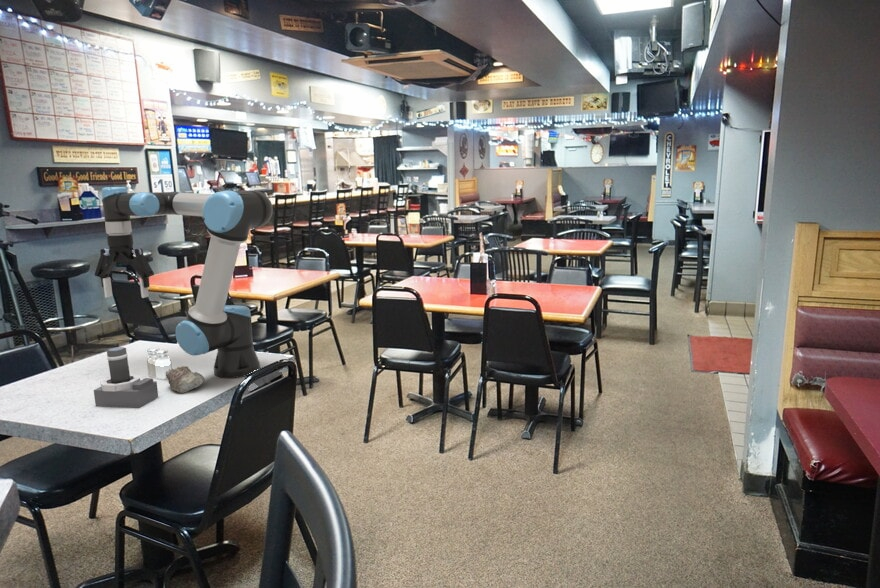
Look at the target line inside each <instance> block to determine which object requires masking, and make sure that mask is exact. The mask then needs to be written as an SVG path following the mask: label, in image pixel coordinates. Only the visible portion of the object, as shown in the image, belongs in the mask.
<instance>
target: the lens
mask: <svg viewBox="0 0 880 588" xmlns="http://www.w3.org/2000/svg"><path fill="white" fill-rule="evenodd" d="M106 355H107V356H106V358H107V359H106V360H107V362H108V367H109V368H108V369H109V374H110V375H109V377H111V383H112V384H118V383H124V382H128V381H130V368H129V361H128V357H129V356H128V353H127V348H126V347H124V346H120V347H119V346H118V347H112V348H109V349H108V350H106Z"/></svg>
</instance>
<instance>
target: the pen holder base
mask: <svg viewBox="0 0 880 588" xmlns="http://www.w3.org/2000/svg"><path fill="white" fill-rule="evenodd" d="M158 391H159V390H158V383H157V381H155V380H154V378H153V377H149V378H147V377H145V378H142V379H141V377H140V376H139V375H138V374H130V381H128V382H124V383H118V384H112V383H111V377H110V376H109V377H108V378H105V379H103V380H101V381H100V386H99V387H97V388H95V389H93V397H94V403H95V405H94V406H95V407H102V408H103V407H105V408H126V409H127V408H128V409H140V408H142V407H144V406H145V405H147V404H149V403H150V402H153V401H154V400H156V399H158V398H159V392H158Z"/></svg>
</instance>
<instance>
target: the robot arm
mask: <svg viewBox="0 0 880 588" xmlns="http://www.w3.org/2000/svg"><path fill="white" fill-rule="evenodd" d="M101 203H102V208H103V218H104V223H105V224H104V225H105V233H106V234H107V236H106V240H107V241H106V242H107V246H108V247H109V248H101V249H100V250H99V251H100V256H99V259H98V262H97V266H96V269H95V270H94V271H95V272H94V276H95V277H99V278H100V282H101V287H102V288H103V291H104V298H105V299H106V298H108V299H109V298H111V297H113V287H112V282H111V280H112V279H111V277H110V276H109V275H110V274H111V273H112V271H113V269H114V268H115V266H116V264H118V263H127V264H129V265H130V266H131V267H132V269H133V270H135V272H136V273H137V274H138V275H139V276H140V278H139V286H140V295H141V298H142V299H145V298H148V297H150V294H149V288H150V277H153V276H154V275H155V273H154V271H153V269H152V267H151V265H150V264H149V262H148V260H147V258H146V257H145V255H144V250H143V248H135V249H134V247H133V246H134V238H133V237H134V236H133V235H132V234H131V233H133V232H132V231H133V229H132V228H133V227H132V223H131V221H132V220H131V217H141V218H145V217H147V218H148V217H152V216H163V215H174V216H175V215H176V216H193V217H202V218H204V220H203V222H204V224H205V226H206V227H207V229H206V231H207V233H208V235H209V236H210V239H209V245H208V249H207V252H206V257H205V261H204V266H203V269H202V275H201V279H200V283H199V287H198V291H197V295H196V299H195V300H196V301H195V304H194V305H193V306H191V307H189V309H188V311H187V316H186V318H185V319H186V320H181V321H180V322H179V323H178V324H177V325H176V327H175V339H176V341H177V343H178V345H179V348H181V350H183V351H184V353H186V354H188V355H189V356H193V357H196V356H200V355H205V354H208V353H210V352H213V351H215V350H217V353H216V357H215V359H214V365H213V373H214V375H215V376H216V377H219V378H224V379H226V378H228V379H229V378H230V379H231V378H232V377H233V378H241V377H245V376H244V375H247V374H249V373H251V372H253V371H254V370H257V369H259V368H260V369H261V363H260V359H259V357H258V355H257V352H256V350H255V349H254V342H253V341H254V339H253V327H252V325H253V324H252V315H251V309H250V308H249V307H248V306H247V305H239V304H238V305H235V304H230V305H229V304H228V305H227V304H226V303H227V300H228V294H229V292H230V291H229V290H230V287H231V283H232V280H233V275H234V271H235V266H236V263H237V260H238V255H239V253H240V247H241V244H243V243H245V242H246V241H247V240H248V236H249V233H250V230H251V229H258V228H261V227H264V226H265V225H266V224H268V223H269V221H270V220H271V218H272V215H273V210H274V209H273V208H274V207H273V203H272V201H271V200H270V198H269V197H268V196H267V195H266V194H264V193H263V192H261V191H258V190H250V189H249V190H230V189H229V190H228V189H226V190H222V191H217V192H214V193H196V192H195V193H194V192H182V191H181V192H180V191H164V192H161V191H160V192H156V191H155V192H145V191H143V192H128V188H127V187H125V186H113V187H112V186H111V187H109V186H107V187H102V189H101ZM109 256H110V258H109ZM247 376H248V375H247Z"/></svg>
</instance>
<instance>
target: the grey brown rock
mask: <svg viewBox="0 0 880 588" xmlns="http://www.w3.org/2000/svg"><path fill="white" fill-rule="evenodd" d="M165 377H166V379H167V380H168V381H167V382H168V384H169V387H170V388H171V390H172V391H174V392H177V393H181V394H183V393H187V392H189V391H191V390H193V389H196V388H198V387H200V386H201V385H202V384H203V383H204V381H205V377H204V376H203V375H202V374H201V373H199V372H197V371H196V372H193V371H192V370H191V369H190V368H189V366H186V365H185V366H177V367H176V368H174V369H173V368H171V369H168V370H167V371H166V372H165Z"/></svg>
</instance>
